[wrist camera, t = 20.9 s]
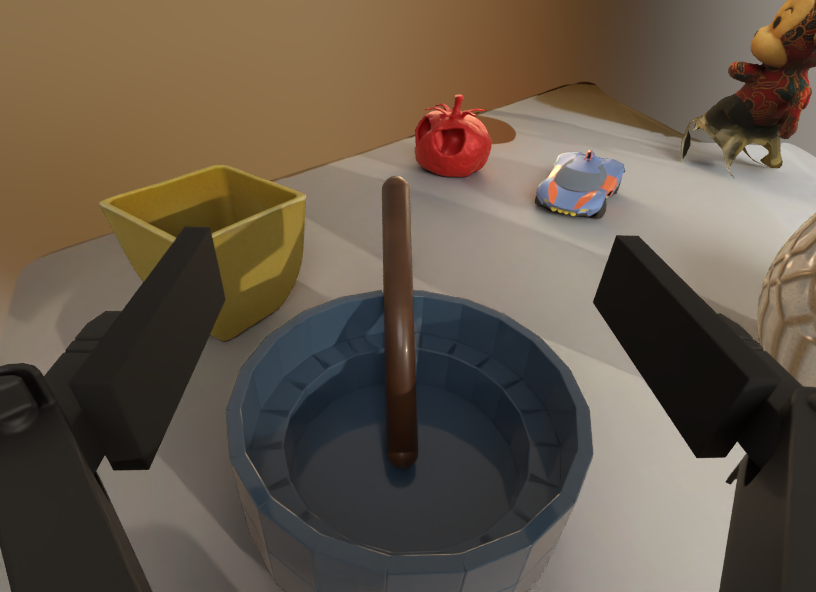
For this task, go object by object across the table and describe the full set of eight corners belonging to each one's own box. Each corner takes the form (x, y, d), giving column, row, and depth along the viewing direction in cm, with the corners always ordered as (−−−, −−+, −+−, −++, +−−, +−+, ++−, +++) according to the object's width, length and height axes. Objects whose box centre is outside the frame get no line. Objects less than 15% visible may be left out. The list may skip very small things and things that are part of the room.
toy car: (522, 212, 51) (532, 165, 48) (557, 174, 62) (567, 133, 58) (597, 232, 48) (613, 182, 44) (620, 188, 58) (634, 145, 55)
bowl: (206, 657, 17) (164, 582, 13) (279, 366, 29) (268, 287, 26) (608, 640, 18) (666, 566, 14) (514, 366, 30) (533, 291, 27)
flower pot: (218, 374, 28) (185, 245, 23) (137, 320, 32) (94, 199, 27) (317, 307, 34) (309, 194, 29) (240, 268, 38) (220, 162, 33)
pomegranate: (450, 152, 67) (458, 83, 61) (502, 173, 60) (515, 98, 55) (396, 164, 61) (399, 89, 56) (446, 188, 55) (455, 107, 50)
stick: (382, 471, 22) (378, 173, 26) (391, 467, 23) (386, 186, 28) (415, 470, 22) (405, 169, 26) (422, 467, 23) (411, 182, 27)
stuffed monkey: (759, 144, 73) (893, -45, 54) (796, 209, 63) (979, 1, 44) (663, 130, 75) (760, -60, 56) (683, 191, 64) (812, -18, 45)
